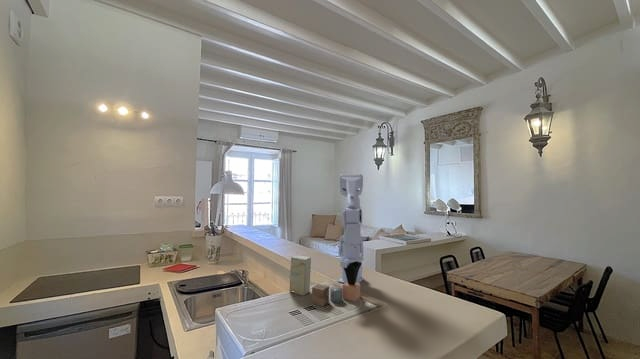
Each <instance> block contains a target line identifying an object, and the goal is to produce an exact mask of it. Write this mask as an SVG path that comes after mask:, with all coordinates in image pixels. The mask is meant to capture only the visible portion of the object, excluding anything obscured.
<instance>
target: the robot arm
mask: <svg viewBox="0 0 640 359" xmlns="http://www.w3.org/2000/svg"><path fill="white" fill-rule="evenodd" d="M363 187H364V175H363V173H361V174H357V173H356V174H354V173H351V174H350V173H344V174H343V173H341V174H340V175H339V191H340V195H342V196H343V197H344V200H343V202H344V206H343V209H342V226H343V235H341V236H340V237H339V240H338V257H339V258H341V260H340V266H339V267H340V268H341V278H339V279H338V280H337V282H338V281H339V282H338V283H343V284H345V283H346V282H347V281H348V284H349V285H355V283H360V284H361V282H362V281H363V280H365V277H364V276H363V261H364V259H365V258H364V244H363V242H364V240H363V238H362V237H361V236H362V235H361V230H362V229H361V226H362V223H363V211H362V207H361V202H360V200H361V199H360V197H359V196H361V195H362V193H363Z"/></svg>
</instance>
